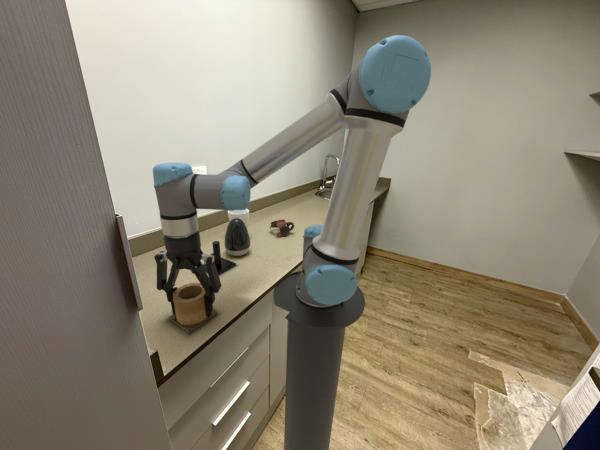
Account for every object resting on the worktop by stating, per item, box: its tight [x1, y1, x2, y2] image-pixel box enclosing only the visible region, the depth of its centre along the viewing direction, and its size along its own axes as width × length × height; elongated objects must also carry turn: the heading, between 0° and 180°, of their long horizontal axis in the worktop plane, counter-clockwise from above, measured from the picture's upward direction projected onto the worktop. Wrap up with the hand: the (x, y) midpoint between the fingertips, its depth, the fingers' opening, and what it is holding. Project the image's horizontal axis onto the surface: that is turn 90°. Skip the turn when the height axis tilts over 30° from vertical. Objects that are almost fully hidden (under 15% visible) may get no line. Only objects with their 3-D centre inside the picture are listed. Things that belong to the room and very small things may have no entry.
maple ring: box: [173, 282, 208, 325], centre depth 63 cm, size 8×8×7 cm
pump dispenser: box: [223, 218, 251, 257], centre depth 96 cm, size 10×10×15 cm
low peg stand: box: [168, 298, 218, 335], centre depth 63 cm, size 8×8×6 cm
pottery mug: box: [269, 218, 295, 238], centre depth 120 cm, size 12×10×8 cm
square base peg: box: [202, 240, 237, 276], centre depth 87 cm, size 9×9×10 cm
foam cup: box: [227, 208, 250, 230], centre depth 112 cm, size 10×9×13 cm
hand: (193, 311), depth 64 cm, fingers closed on maple ring, 8 cm apart
